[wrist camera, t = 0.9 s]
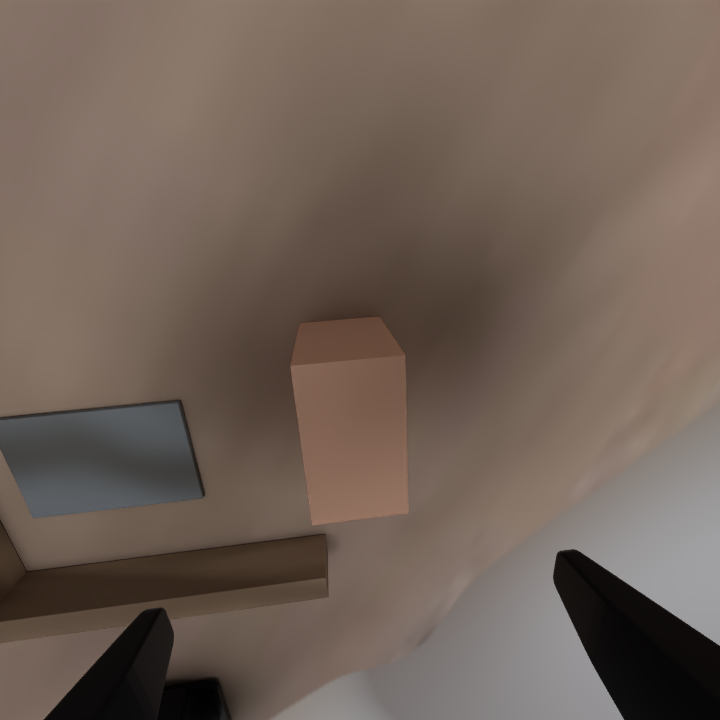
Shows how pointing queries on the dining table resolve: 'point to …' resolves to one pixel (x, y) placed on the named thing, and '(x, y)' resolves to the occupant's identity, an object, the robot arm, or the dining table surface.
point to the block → (351, 419)
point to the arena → (128, 489)
